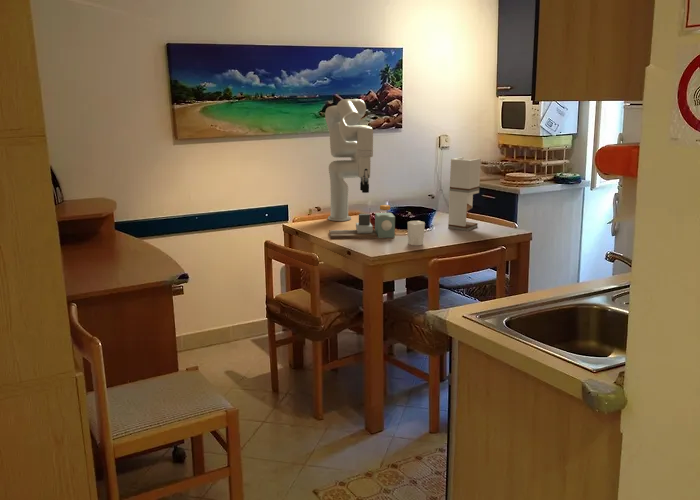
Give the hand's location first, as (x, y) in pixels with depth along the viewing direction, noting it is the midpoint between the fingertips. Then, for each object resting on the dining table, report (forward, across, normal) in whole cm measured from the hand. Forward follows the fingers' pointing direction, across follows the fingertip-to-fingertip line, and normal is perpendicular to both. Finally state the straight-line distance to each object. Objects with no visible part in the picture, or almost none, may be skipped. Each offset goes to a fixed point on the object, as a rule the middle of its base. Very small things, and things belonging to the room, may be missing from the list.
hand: (364, 191), depth 314 cm
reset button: (+9, 0, +10) cm, 13 cm away
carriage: (+20, 0, 0) cm, 20 cm away
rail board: (+22, 0, -6) cm, 22 cm away
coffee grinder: (+22, -14, +52) cm, 59 cm away
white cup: (+22, +19, +22) cm, 36 cm away
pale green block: (+22, 0, +10) cm, 24 cm away
